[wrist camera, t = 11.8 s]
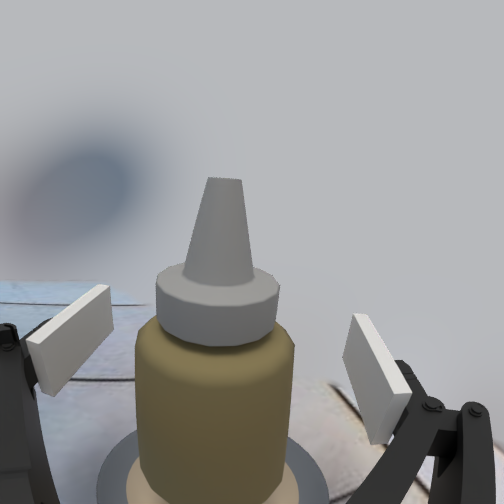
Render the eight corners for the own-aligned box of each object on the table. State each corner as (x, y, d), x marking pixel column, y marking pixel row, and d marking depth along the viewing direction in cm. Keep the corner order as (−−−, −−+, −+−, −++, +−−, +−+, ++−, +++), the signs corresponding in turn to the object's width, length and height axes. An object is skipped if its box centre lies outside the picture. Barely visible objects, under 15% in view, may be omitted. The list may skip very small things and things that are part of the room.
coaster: (75, 447, 17) (72, 439, 17) (240, 399, 26) (240, 392, 26) (168, 623, 5) (166, 622, 5) (370, 506, 14) (374, 500, 14)
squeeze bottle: (217, 429, 21) (232, 175, 16) (301, 490, 16) (379, 196, 11) (125, 473, 15) (80, 174, 11) (205, 561, 10) (199, 189, 5)
